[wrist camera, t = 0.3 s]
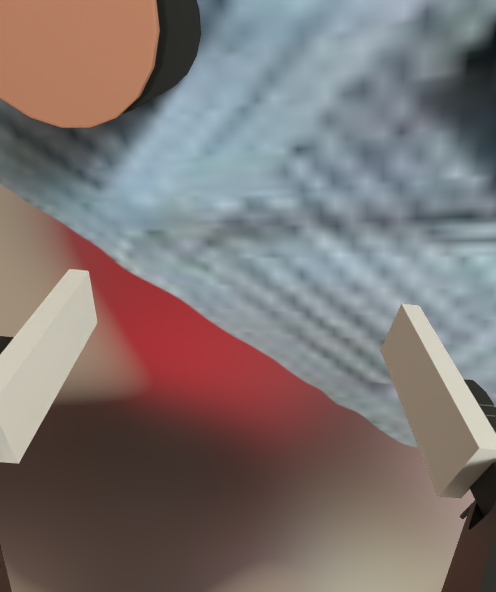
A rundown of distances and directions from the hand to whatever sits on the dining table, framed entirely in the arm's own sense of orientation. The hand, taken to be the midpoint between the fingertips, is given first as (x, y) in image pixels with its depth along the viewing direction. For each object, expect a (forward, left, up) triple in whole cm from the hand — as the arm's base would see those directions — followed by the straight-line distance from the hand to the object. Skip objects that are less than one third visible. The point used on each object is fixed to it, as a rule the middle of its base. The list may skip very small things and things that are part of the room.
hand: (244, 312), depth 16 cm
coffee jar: (-10, -11, -28) cm, 31 cm away
